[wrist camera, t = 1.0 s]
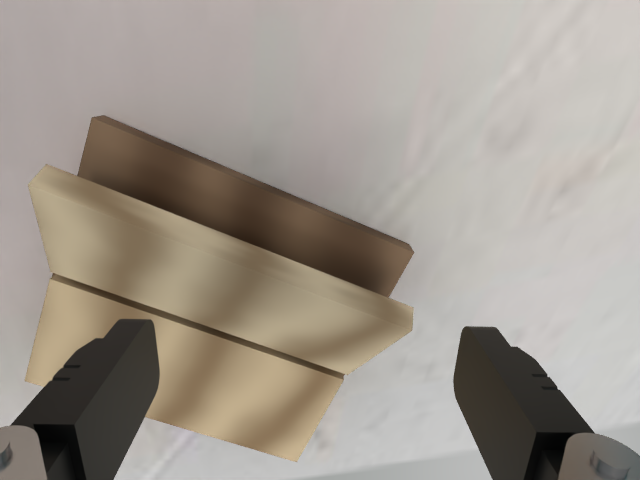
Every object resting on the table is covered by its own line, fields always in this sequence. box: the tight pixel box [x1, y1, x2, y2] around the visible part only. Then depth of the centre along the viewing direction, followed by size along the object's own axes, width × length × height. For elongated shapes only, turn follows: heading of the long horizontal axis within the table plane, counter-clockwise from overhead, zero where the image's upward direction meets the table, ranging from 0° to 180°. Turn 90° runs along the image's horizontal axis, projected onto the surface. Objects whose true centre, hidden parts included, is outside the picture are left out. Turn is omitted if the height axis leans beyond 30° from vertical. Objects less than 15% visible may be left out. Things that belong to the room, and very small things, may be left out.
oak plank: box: [28, 164, 413, 375], centre depth 26 cm, size 21×9×2 cm
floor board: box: [25, 115, 414, 462], centre depth 30 cm, size 22×20×3 cm
